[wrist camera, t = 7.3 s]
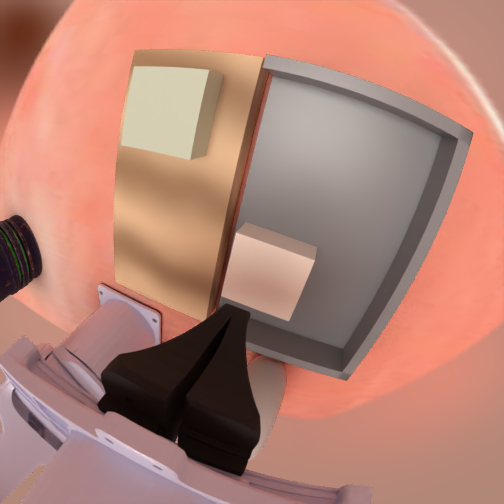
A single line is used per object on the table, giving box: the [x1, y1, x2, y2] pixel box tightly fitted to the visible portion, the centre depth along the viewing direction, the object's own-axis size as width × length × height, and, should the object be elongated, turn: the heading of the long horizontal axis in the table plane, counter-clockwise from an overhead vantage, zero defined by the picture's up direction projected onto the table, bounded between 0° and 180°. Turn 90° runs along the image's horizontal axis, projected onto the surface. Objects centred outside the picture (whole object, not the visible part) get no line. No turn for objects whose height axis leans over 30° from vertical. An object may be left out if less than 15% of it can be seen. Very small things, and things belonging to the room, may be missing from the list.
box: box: [214, 54, 473, 381], centre depth 17 cm, size 19×12×3 cm, turn 166°
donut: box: [247, 355, 286, 461], centre depth 20 cm, size 10×4×10 cm, turn 166°
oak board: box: [114, 49, 269, 322], centre depth 18 cm, size 19×9×2 cm, turn 166°
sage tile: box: [121, 66, 223, 160], centre depth 14 cm, size 5×5×2 cm
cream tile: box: [221, 222, 317, 321], centre depth 19 cm, size 5×5×2 cm
